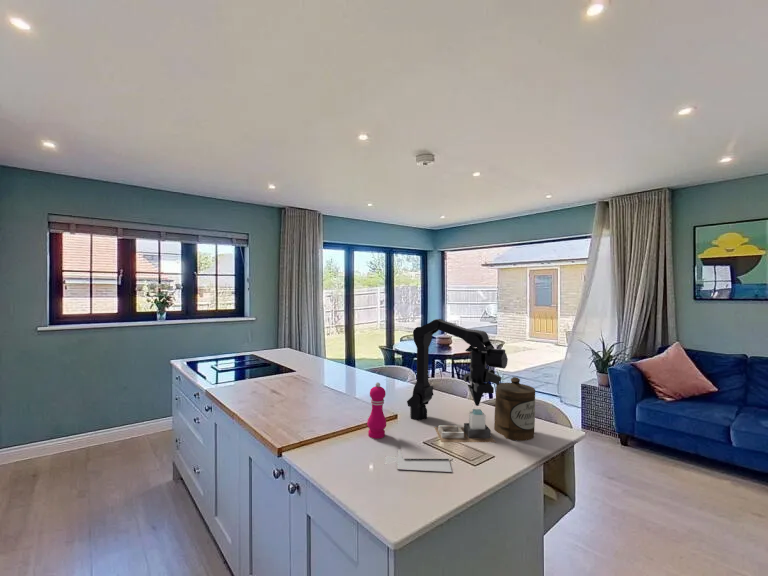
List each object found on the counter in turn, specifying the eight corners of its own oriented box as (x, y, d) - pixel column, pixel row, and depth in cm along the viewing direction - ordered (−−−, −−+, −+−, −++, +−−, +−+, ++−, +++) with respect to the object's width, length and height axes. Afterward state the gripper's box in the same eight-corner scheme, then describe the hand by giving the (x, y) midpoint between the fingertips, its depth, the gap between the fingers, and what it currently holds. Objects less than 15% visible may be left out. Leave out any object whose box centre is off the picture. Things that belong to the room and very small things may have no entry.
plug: (471, 436, 140) (472, 412, 140) (468, 432, 144) (469, 408, 144) (484, 436, 140) (485, 412, 140) (481, 432, 144) (482, 408, 144)
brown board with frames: (441, 444, 134) (441, 433, 134) (434, 429, 148) (434, 419, 148) (496, 445, 135) (496, 433, 135) (483, 430, 149) (484, 420, 149)
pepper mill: (384, 440, 137) (385, 385, 137) (364, 438, 138) (366, 384, 138) (387, 432, 144) (389, 380, 144) (369, 430, 145) (370, 379, 145)
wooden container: (521, 444, 136) (522, 384, 136) (486, 431, 148) (488, 376, 147) (541, 435, 146) (543, 378, 145) (507, 423, 157) (509, 371, 157)
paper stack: (456, 491, 104) (456, 488, 104) (367, 486, 105) (367, 483, 105) (446, 453, 128) (446, 451, 128) (373, 450, 129) (373, 448, 129)
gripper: (508, 370, 133) (507, 414, 133) (490, 360, 152) (489, 398, 152) (477, 369, 132) (476, 413, 132) (463, 359, 151) (462, 398, 151)
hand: (477, 405), depth 142 cm, fingers closed
